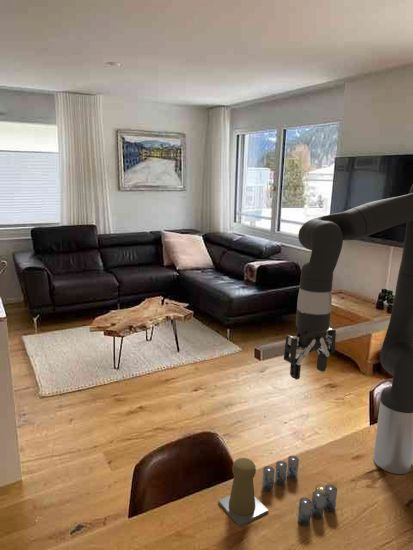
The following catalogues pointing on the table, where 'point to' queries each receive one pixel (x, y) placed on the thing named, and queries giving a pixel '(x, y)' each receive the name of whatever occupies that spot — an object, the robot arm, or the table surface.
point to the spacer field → (305, 504)
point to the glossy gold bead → (320, 488)
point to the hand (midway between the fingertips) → (308, 374)
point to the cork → (243, 487)
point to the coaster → (242, 520)
